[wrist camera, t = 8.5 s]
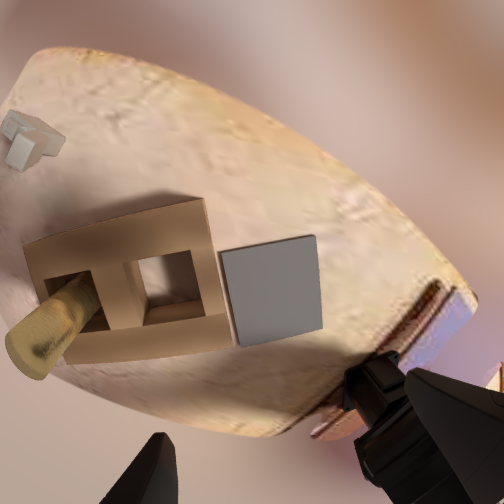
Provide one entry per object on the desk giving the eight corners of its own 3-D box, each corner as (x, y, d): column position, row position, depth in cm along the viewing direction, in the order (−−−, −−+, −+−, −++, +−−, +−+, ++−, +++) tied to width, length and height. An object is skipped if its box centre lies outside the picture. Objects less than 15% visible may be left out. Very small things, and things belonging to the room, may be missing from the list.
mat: (321, 326, 22) (322, 328, 22) (240, 345, 21) (240, 347, 21) (314, 235, 20) (315, 236, 20) (221, 252, 19) (221, 253, 19)
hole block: (229, 326, 21) (232, 346, 18) (79, 346, 20) (67, 364, 17) (204, 198, 18) (202, 200, 15) (42, 238, 17) (22, 246, 14)
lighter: (29, 136, 15) (-34, 124, 7) (38, 118, 15) (-22, 99, 7) (79, 175, 17) (14, 173, 9) (91, 155, 16) (28, 142, 9)
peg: (112, 303, 19) (56, 381, 10) (82, 308, 19) (21, 378, 9) (101, 268, 18) (30, 329, 9) (71, 274, 18) (-3, 331, 8)
